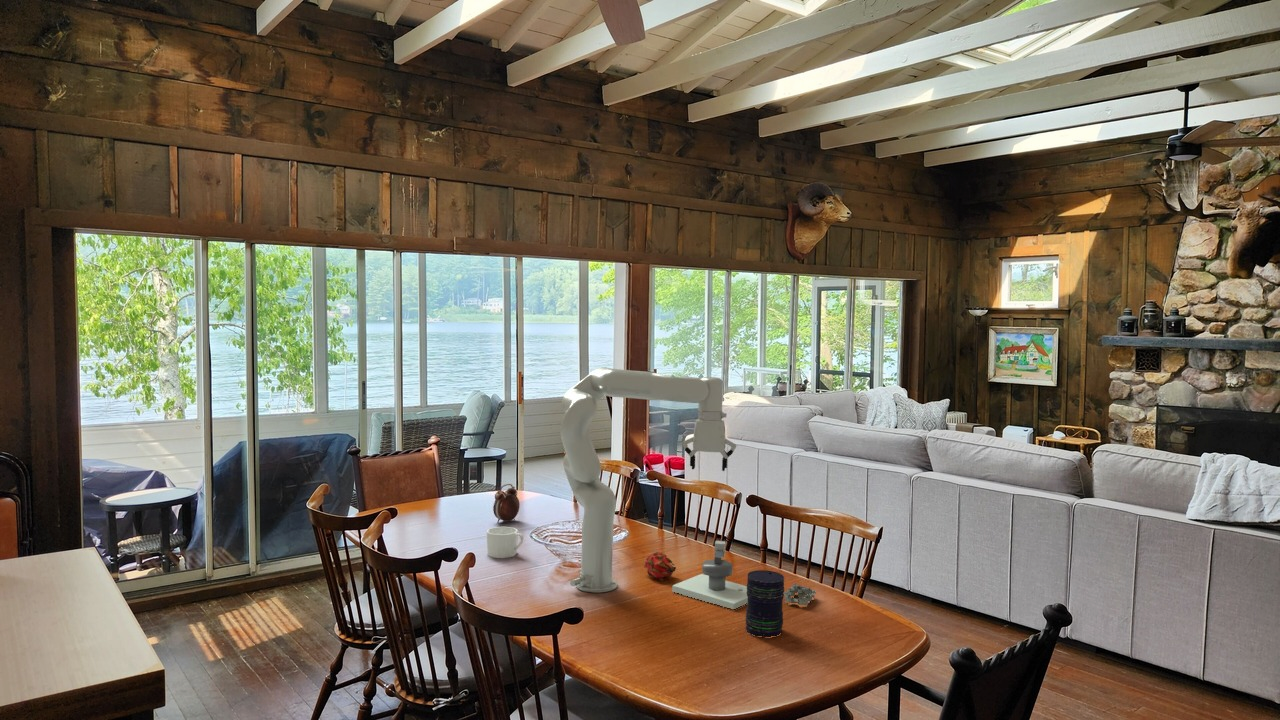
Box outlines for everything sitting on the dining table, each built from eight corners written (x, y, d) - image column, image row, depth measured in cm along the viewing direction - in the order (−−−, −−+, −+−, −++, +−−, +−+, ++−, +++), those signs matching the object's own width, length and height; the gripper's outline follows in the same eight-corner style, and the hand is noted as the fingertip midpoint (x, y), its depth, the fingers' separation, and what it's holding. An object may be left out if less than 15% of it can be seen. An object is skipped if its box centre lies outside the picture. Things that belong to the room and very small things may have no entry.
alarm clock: (511, 518, 324) (512, 481, 323) (520, 520, 321) (520, 483, 321) (491, 523, 315) (492, 485, 315) (500, 525, 313) (501, 487, 312)
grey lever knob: (731, 578, 237) (732, 556, 236) (700, 575, 238) (701, 554, 238) (734, 562, 252) (735, 542, 251) (705, 560, 253) (706, 540, 253)
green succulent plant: (805, 610, 232) (806, 596, 232) (780, 605, 236) (781, 591, 236) (818, 599, 241) (818, 586, 241) (794, 594, 245) (794, 581, 245)
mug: (480, 556, 274) (480, 532, 274) (497, 547, 284) (497, 525, 283) (514, 561, 269) (515, 537, 269) (530, 553, 279) (531, 530, 278)
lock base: (733, 610, 230) (734, 588, 229) (672, 591, 244) (672, 570, 243) (761, 597, 241) (762, 575, 241) (701, 580, 255) (701, 559, 255)
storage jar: (773, 641, 208) (775, 584, 208) (739, 632, 214) (740, 577, 213) (788, 629, 217) (790, 574, 216) (754, 621, 222) (756, 567, 221)
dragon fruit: (648, 575, 263) (671, 592, 253) (633, 565, 258) (655, 581, 248) (663, 553, 264) (686, 568, 255) (648, 542, 259) (671, 557, 250)
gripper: (737, 415, 259) (736, 468, 260) (684, 413, 262) (682, 465, 263) (736, 418, 252) (734, 473, 253) (681, 416, 255) (680, 470, 256)
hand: (708, 469), depth 258 cm, fingers open, 9 cm apart
